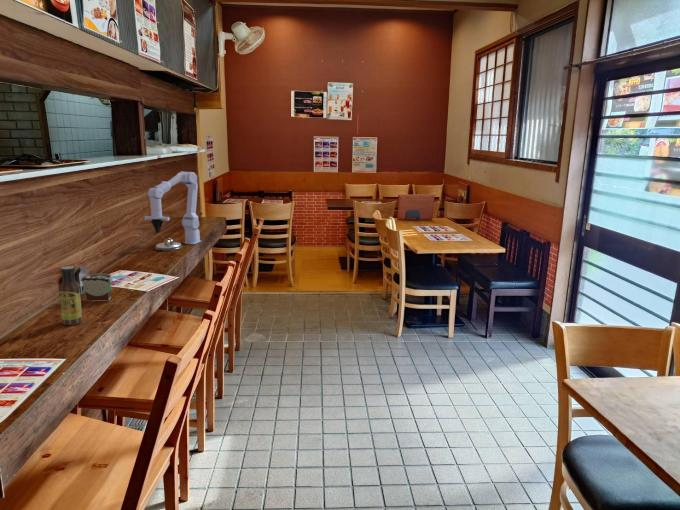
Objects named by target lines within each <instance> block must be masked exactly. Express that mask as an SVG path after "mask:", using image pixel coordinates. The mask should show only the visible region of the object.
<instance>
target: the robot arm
mask: <svg viewBox="0 0 680 510" xmlns="http://www.w3.org/2000/svg"><path fill="white" fill-rule="evenodd" d="M180 182H181V183H182V184H184V185H185V186H186V187H187V200H186V202H187V203H186V213H184V214H183V217H182V220H181V225H182V227H183V229H184V238H185V242H183V243H185V244H186V245H196V244H198V243H201V242H202V240H201V235H200V229H198V228H199V227H200V221H199V215H197V213H196V212H197V201H198V188H199V186H198V185H199V184H198V175H197V174H196V173H195V172H194V171H193V172H192V171H182V170H181V171H180V172H177V174H176V175H175V176H173V177H171V179H169V180H168V181H163V180H162V181H161V183H159V184H157V185H155V186H154V187H151V188H149V189H148V191H147V193H146V194H147V196H148V198H149V201H150V202H149V203H150V214H151V215H150V216H149V215H145V216H144V220H145V221H147V220H148V221H150V223H151V224H152V226H153V228H154V231H155V233H157V234H159V233H160V232H161V228H162V226H163V223H164V221H167V222H169V221H170V219H171V218H170V216H163V211H162V207H163V206H162V198H163V196H164V194H166V193H167V192H169V191H170V190H171V188H172V187H173V186H175V185H177V184H179V183H180ZM185 244H184V245H185Z"/></svg>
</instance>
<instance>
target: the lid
mask: <svg viewBox="0 0 680 510" xmlns="http://www.w3.org/2000/svg"><path fill="white" fill-rule="evenodd" d="M167 240H169V244H170V245H173V242H174V238H171V237H167V238H164V240H163V241H164V242H163V243H164V244H165V245H167V243H166V241H167Z"/></svg>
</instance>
